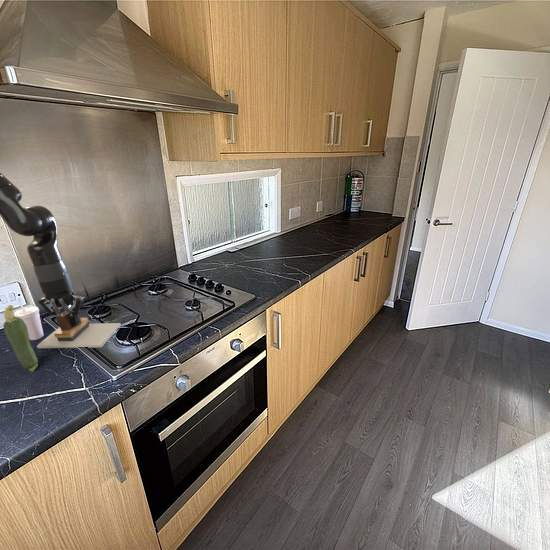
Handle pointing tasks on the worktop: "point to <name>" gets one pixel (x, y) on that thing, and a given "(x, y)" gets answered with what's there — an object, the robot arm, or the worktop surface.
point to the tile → (84, 337)
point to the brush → (69, 327)
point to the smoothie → (31, 320)
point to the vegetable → (19, 339)
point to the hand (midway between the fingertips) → (71, 325)
